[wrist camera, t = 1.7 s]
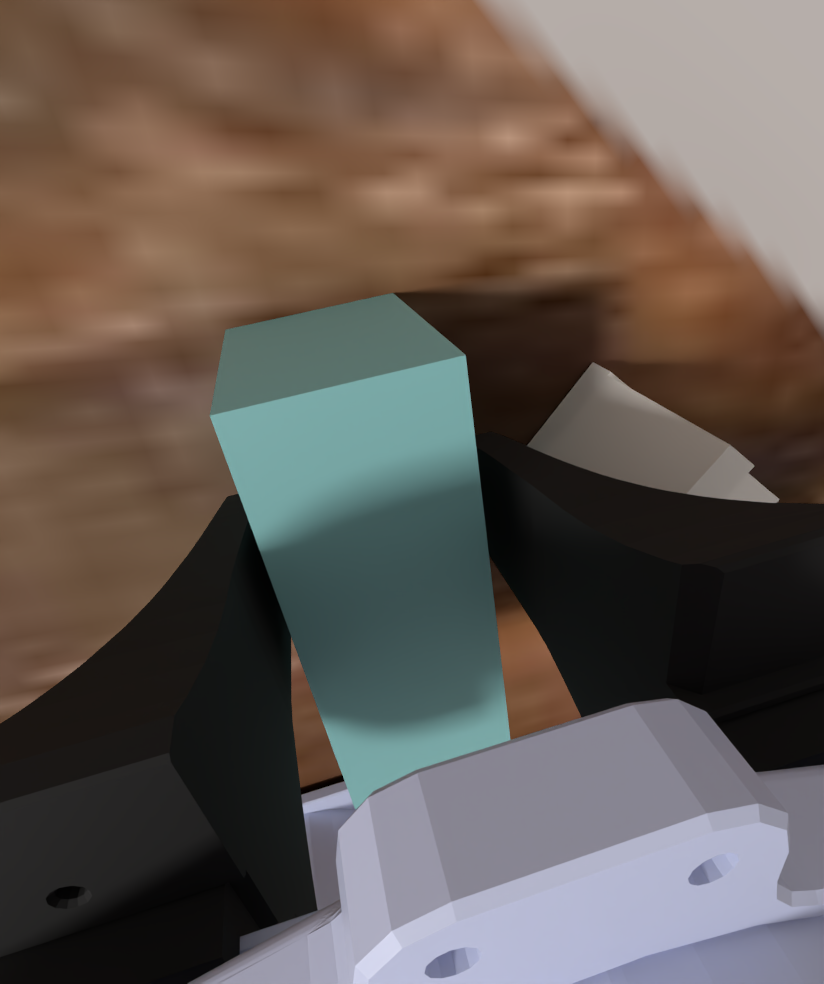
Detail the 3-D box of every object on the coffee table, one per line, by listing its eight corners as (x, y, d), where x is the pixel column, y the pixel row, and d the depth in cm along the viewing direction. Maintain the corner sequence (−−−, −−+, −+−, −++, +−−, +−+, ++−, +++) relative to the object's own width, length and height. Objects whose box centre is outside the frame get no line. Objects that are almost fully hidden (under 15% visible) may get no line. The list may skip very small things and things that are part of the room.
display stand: (830, 555, 19) (983, 657, 15) (731, 651, 21) (849, 768, 17) (592, 362, 14) (735, 440, 10) (477, 508, 15) (560, 632, 11)
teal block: (446, 608, 17) (512, 757, 13) (328, 643, 16) (355, 808, 12) (391, 292, 12) (465, 355, 8) (225, 328, 12) (210, 415, 8)
